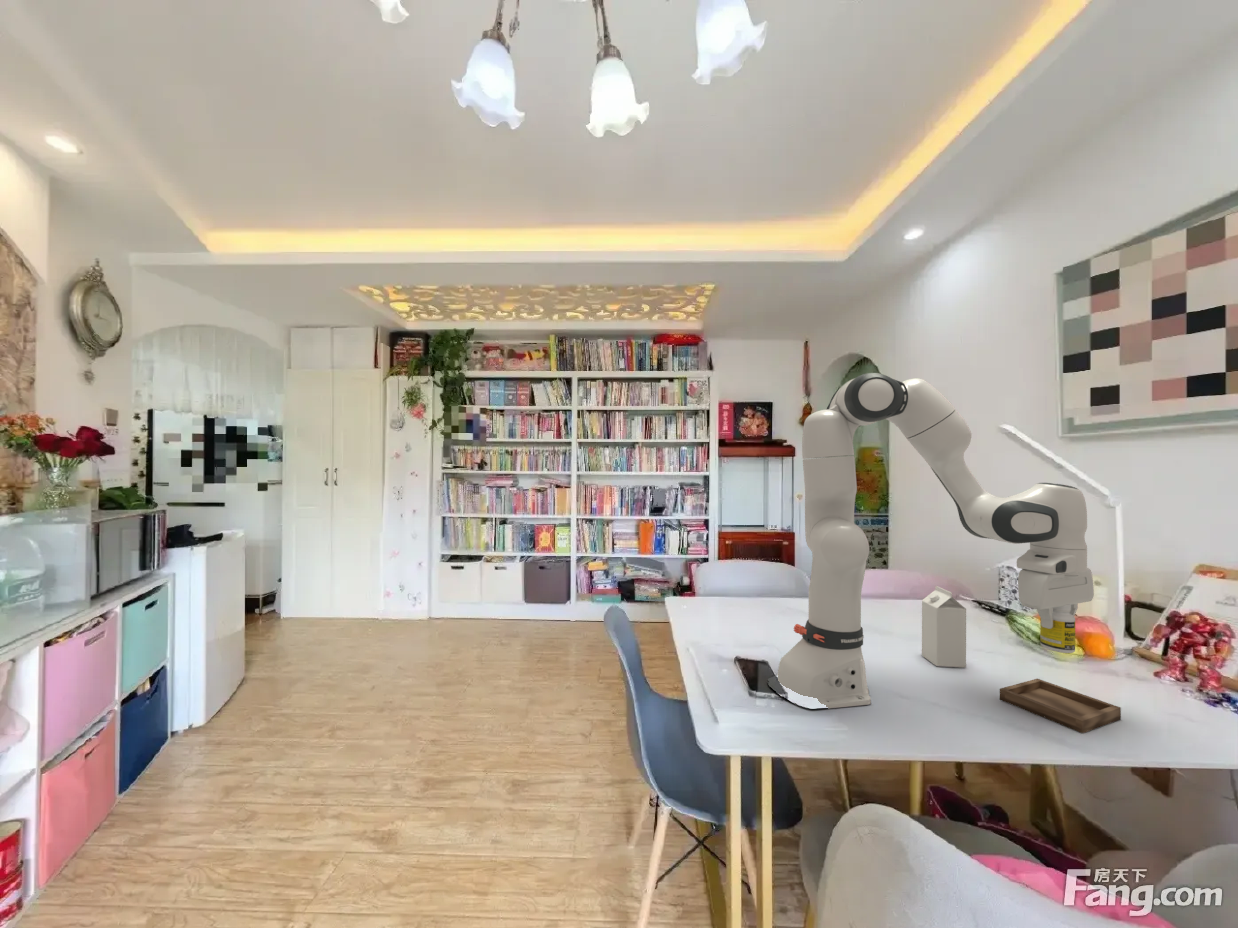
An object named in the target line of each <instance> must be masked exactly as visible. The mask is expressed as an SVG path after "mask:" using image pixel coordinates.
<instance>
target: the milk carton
mask: <svg viewBox="0 0 1238 928" xmlns="http://www.w3.org/2000/svg"><path fill="white" fill-rule="evenodd" d="M921 656H922V657H923V658H925V659H926V660H927V661H928V662H930V663H931V664H933V665H934V666H936V667H945V668H946V667H947V668H963V669H964V668H965V669H966V668H967V608H966V607H964V606H963V605H962V604H961V603H960V602H959V601H957V600H956V598H954V597H953V592H951V591H949V590H947V589H944V588H942V587H940V586H937V585H935V589H934V590H933V591H932V592H931V593H929V594H927V596H926V597H924V598H923V599H922V600H921Z"/></svg>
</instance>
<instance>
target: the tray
mask: <svg viewBox="0 0 1238 928" xmlns="http://www.w3.org/2000/svg"><path fill="white" fill-rule="evenodd" d="M999 700H1000V701H1001V700H1002V701H1001V702H1004V703H1006V704H1010V705H1012V706H1013V707H1017V708H1018V709H1021V710H1024V711H1026V712H1029V713H1032V714H1033V715H1036V716H1039V717H1041V718H1044V719H1046V720H1049V721H1050V722H1053V723H1056V724H1058V725H1061V726H1063V727H1065V728H1068V729H1070V730H1073V731H1076V732H1078V733H1080V734H1086V733H1088V732H1090V731H1094V730H1095V729H1096V730H1097V729H1099V728H1101V727H1104V726H1107V725H1110V724H1113V723H1115V722H1117V721H1122V720H1121V719H1122V717H1121V715H1122V712H1121V711H1122V707H1120V706H1118V705H1115V704H1111V703H1109V702H1106V701H1102V700H1100V699H1098V698H1095V697H1091V696H1089V695H1086V694H1083V693H1080V692H1077V691H1076V690H1071V689H1070V688H1069V689H1068V688H1065V687H1063V686H1061V685H1057V684H1054V683H1052V682H1049V681H1046V680H1043V679H1040V678H1034V679H1032V680H1027V681H1023V682H1020V683H1016V684H1012V685H1009V686H1005V687H1001V688H999Z"/></svg>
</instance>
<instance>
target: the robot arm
mask: <svg viewBox="0 0 1238 928" xmlns="http://www.w3.org/2000/svg"><path fill="white" fill-rule="evenodd" d="M883 420H887V421H889V422H891V423H893V424H894V425H895V426H896V427H898V429H899V430H900V432H901V433H902V434H903V436H904V438H906V439H907V441H908V442H909V444H910V445H911V446H912V448H914V449H915V450H916V452H917V453H918V454H919V455H920V456H921V457H922V458H923V459H924V461H925V462H926V463H927V465H928V466H929V467H930V469H931V470H932V472H933V473H934V474H935V476H936V477H937V479H938V480H939V482H940V483H941V485H942V486H943V487H944V489H945V490H946V492H947V493H948V494H949V496H950V498H951V500H953V501H954V503H955V506H956V508H957V513H958V517H959V520H960V521H959V522H960V523H961V525H962V527H963V528H964V529H965V530H966V531H967V532H968V533H969V534H971V535H973V536H974V537H977V538H981V539H991V540H994V541H999V542H1004V543H1007V544H1013V545H1015V544H1016V545H1017V544H1019V545H1020V544H1027V543H1028V544H1029V549H1028V550H1027V551H1026V552H1024V553H1023V554H1021V556H1019V557H1018V558H1016V568H1017V569H1020V571H1019V572H1018V579H1017V581H1018V582H1017V583H1018V584H1017V585H1018V586H1017V587H1018V589H1017V590H1018V591H1017V592H1018V599H1019V602H1020V604H1021V606H1023V607H1025V608H1028V609H1029V608H1030V609H1034V610H1036V611H1037V613H1038V616H1039V618H1041V626H1042V627H1044V628H1048V629H1051V628H1055V620H1053V617H1052V612H1053V608H1055V607H1060V606H1065V605H1069V604H1071V611H1070V612H1069V614H1071V615H1073V616H1074V617H1075V616H1076V612H1077V611H1078V608H1079V607H1078V604H1083V603H1087V602H1091V601H1093V599H1094V594H1095V593H1094V592H1095V591H1094V580H1093V574H1092V570H1091V568H1089V567H1088V546H1087V543H1086V539H1085V536H1086V532H1087V529H1088V510H1087V504H1086V498H1085V496H1084V494H1083V492H1082V490H1080V489H1079V488H1077V487H1074V486H1071V485H1067V484H1063V483H1052V482H1038V483H1035V484H1034V485H1033V486H1032V487H1030V488H1028V489H1026V490H1024V491H1022V492H1019V493H1016V494H1013V495H1010V496H1008V497H1003V496H1000V497H999V496H996V495H994V494H992V493H989V492H988V491H987V490H985V489H984V487H982V485H981V484H980V482H979V481H978V479H977V478H976V476H975V475H974V474H973V473H972V471H971V469H970V468H969V467H968V465H967V464H966V462H965V459H964V458H965V457H964V455H965V452H966V451H967V449H968V448H969V446H970V445H971V441H972V431H971V430H970V427H969V425H968V423H967V421H966V420H965V419H964V417H963V416H962V414H960V412H959V411H958V409H956V407H955V406H954V405H953V404H952V403H951V402H950V401H949V400H948V398H947V397H945V396H944V394H942V393H941V392H940V391H939V390H938V389H937V388H935V386H934V385H932V384H930V382H928V381H927V380H925V379H923V378H917V377H915V378H909V379H906V380H904V381H903V380H902V381H899V380H898V379H894V378H892V377H890V376H889V375H886V374H883V373H878V372H868V373H863V374H861V375H858V376H856V377H855V378H851V379H850V380H848V381H846V382H845V383H844V384H842V386H840V387H839V388H838V389H837V390H836V391H835V393H834V394H833V396H832V397H831V399H830V401H829V403H828V406H827V407H826V409H821V410H817V411H815V412H813V413H811V414H809V415H808V416H807V417H806V418H805V420H804V423H803V429H802V443H801V444H802V445H801V446H802V448H801V453H802V454H801V455H802V468H803V470H802V471H803V481H804V527H805V528H804V530H805V532H804V533H805V542H806V545H807V546H808V548H809V551H811V552H812V553H811V554H812V556H811V557H812V560H811V573H810V581H809V585H808V618H807V620H806V622H805V625H804V626H802V625H801V624H798V623H795V624H794V626H793V631H794V632H795V633H796V634H799V635H800V636H801V637H802V638H800V640H799V641H798V642H797V643H795V645H794V646H793V647H791V649H790V650H789V651H787V653H785V654H784V655H783V656H781V658H780V661H779V664H778V669H777V675H778V681H779V682H780V683H781V684H782V685H783V686H785V687H786V688H789V689H791V690H792V691H794V692H796V693H798V694H800V695H803V696H808V697H813V698H817V699H818V701H819V702H820V703H821V704H824V705H826V707H828V709H835V708H836V709H837V708H846V707H848V708H849V707H857V706H866V705H871V704H872V700H871V696H870V694H869V693H870V690H869V688H868V687H869V686H868V682H867V674H866V673H867V672H866V671H867V670H866V665H865V659H864V655H863V651H862V646H863V645H864V638H865V637H864V630H863V627H862V591H863V586H864V585H863V583H864V579H865V574H866V566H867V560H868V557H869V555H870V544H869V540H868V537H867V536H866V534H865V532H864V530H863V529H862V528H861V527H860V526H858V525H857V524H856V523H855V507H856V506H855V504H856V496H857V495H856V494H857V492H858V488H857V487H858V484H857V474H856V459H855V451H854V449H855V448H854V443H853V442H854V436H855V432H856V431H857V430H858V428H860V427H863V426H870V425H872V424H875V423H877V422H880V421H883Z"/></svg>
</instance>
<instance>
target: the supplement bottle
mask: <svg viewBox="0 0 1238 928" xmlns="http://www.w3.org/2000/svg"><path fill="white" fill-rule="evenodd" d="M1070 611H1071V604H1069V605H1065V606H1060V607H1055V608H1053V612H1052V617H1053V620H1055V628H1051V629H1048V628H1044V627H1042V626H1041V618H1040V617H1039V618H1040V623H1039V625H1040V627H1039V631H1040V634H1039V637H1040V639H1039V640H1040V643H1039V644H1040V646H1041V647H1042V648H1044V649H1046V650H1049V651H1052V652H1057V653H1063V654H1072V653H1074V652H1076V617H1075V616H1073V615H1071V614H1069V612H1070Z"/></svg>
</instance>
